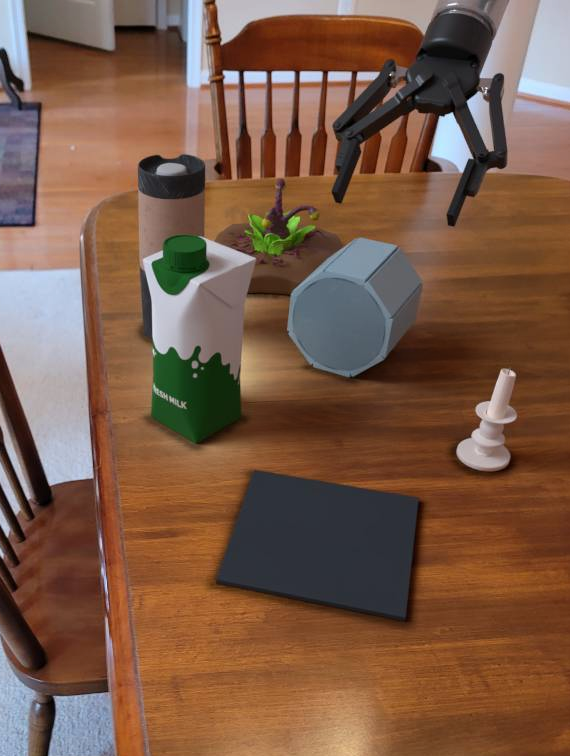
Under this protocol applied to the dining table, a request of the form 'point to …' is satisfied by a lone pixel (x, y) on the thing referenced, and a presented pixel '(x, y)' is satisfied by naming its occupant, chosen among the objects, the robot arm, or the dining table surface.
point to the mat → (323, 544)
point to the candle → (491, 429)
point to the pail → (355, 307)
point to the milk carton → (197, 333)
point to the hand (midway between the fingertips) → (391, 209)
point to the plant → (281, 246)
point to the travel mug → (167, 210)
